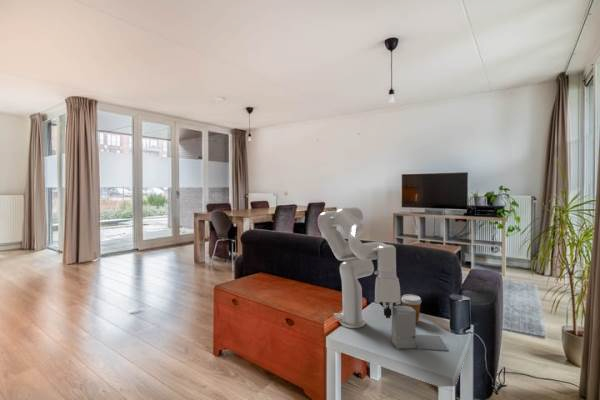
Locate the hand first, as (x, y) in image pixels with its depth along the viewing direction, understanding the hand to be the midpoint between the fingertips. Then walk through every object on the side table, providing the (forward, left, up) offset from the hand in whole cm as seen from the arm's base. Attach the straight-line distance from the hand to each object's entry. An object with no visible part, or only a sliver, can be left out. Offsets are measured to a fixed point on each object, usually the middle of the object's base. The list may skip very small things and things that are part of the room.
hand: (387, 317), depth 129 cm
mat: (+17, +3, -12) cm, 21 cm away
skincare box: (+6, 0, -12) cm, 14 cm away
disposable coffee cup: (+14, +24, -12) cm, 31 cm away
